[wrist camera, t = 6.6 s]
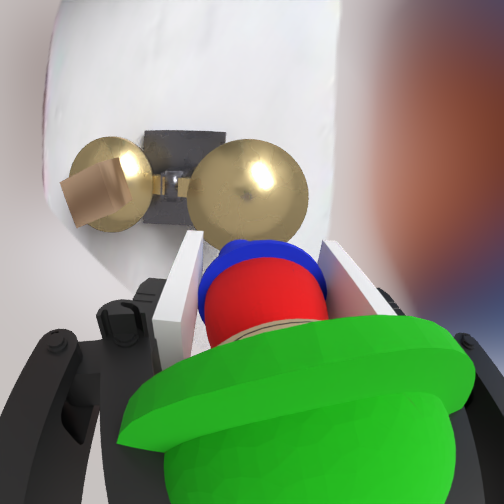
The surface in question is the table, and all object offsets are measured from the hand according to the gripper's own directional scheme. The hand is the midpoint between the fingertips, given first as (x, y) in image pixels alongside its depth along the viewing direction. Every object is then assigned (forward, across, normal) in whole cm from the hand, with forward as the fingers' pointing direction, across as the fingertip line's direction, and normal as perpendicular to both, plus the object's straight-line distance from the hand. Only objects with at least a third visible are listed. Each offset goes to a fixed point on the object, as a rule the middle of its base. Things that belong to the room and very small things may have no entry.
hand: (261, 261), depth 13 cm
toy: (+2, 0, 0) cm, 2 cm away
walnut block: (+16, -16, 0) cm, 22 cm away
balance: (+23, -8, 0) cm, 24 cm away
